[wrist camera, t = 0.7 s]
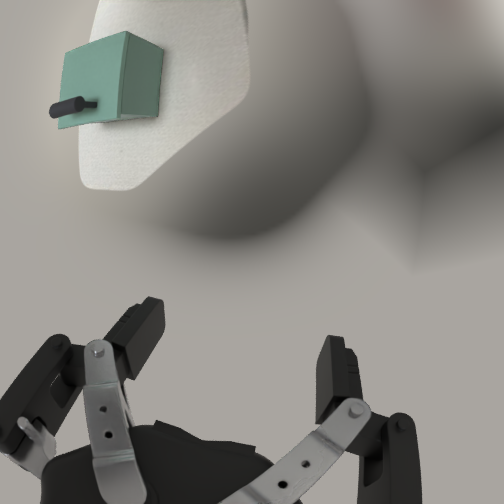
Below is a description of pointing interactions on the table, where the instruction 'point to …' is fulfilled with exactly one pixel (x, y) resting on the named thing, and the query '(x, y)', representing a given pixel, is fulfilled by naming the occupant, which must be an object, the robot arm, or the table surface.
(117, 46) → the green square slab
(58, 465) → the robot arm
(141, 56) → the green storage box
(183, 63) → the table surface
